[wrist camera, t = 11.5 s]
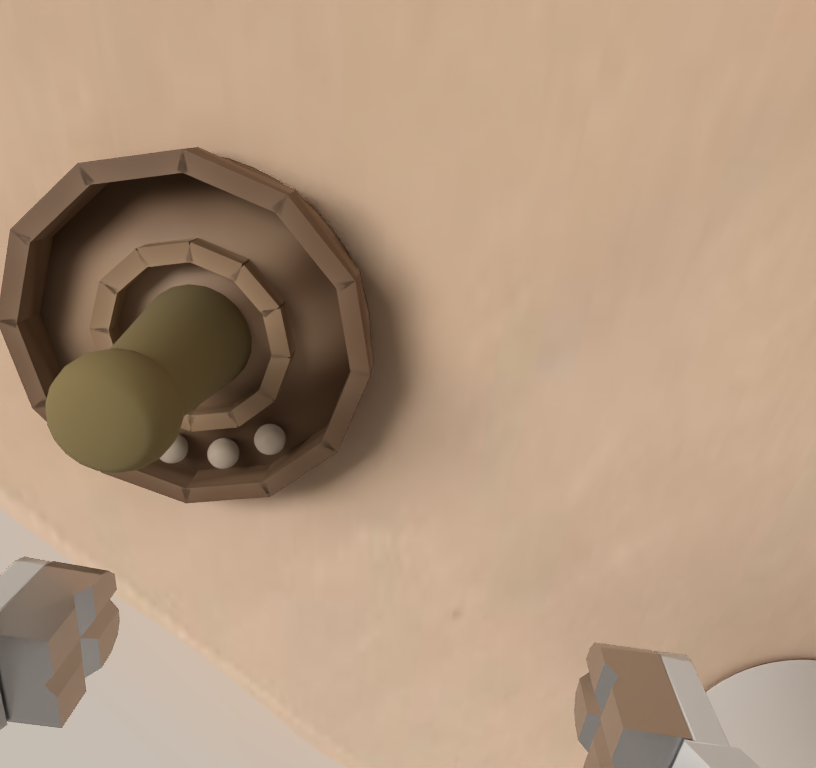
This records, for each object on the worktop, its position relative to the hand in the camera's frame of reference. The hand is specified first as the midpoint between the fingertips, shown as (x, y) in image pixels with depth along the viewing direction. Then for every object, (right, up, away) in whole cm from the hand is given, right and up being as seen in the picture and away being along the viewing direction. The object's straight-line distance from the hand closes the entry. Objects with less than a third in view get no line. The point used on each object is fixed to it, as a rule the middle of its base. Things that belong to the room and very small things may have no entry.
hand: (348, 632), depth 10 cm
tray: (-11, +7, +24) cm, 27 cm away
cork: (-11, +7, +23) cm, 27 cm away
